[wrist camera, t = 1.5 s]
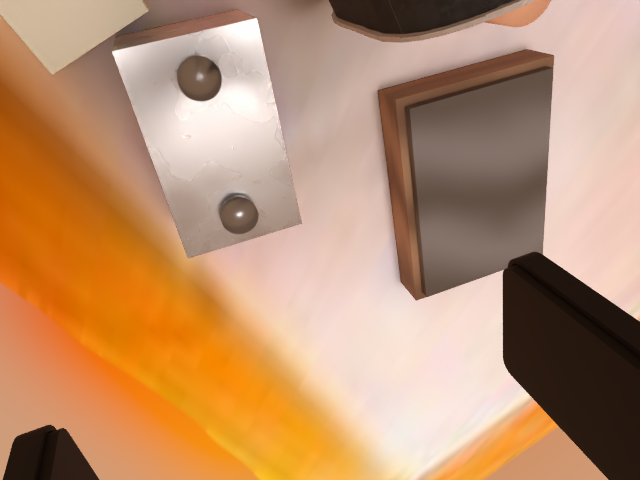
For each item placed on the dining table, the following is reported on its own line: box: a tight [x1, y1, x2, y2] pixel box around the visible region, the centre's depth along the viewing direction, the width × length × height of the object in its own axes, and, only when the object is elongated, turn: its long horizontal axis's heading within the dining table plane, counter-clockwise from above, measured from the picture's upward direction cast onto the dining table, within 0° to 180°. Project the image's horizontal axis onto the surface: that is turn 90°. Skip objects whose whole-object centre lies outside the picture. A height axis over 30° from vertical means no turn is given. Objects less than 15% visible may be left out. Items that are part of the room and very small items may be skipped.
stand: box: [378, 50, 554, 300], centre depth 33 cm, size 14×10×3 cm
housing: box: [112, 9, 302, 258], centre depth 25 cm, size 10×6×6 cm, turn 10°
